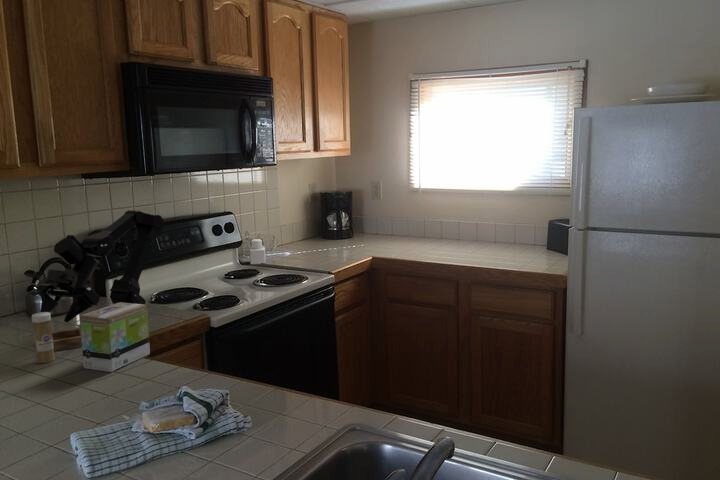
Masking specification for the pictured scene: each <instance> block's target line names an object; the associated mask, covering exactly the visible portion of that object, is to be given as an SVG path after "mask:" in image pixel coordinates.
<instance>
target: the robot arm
mask: <svg viewBox="0 0 720 480" xmlns="http://www.w3.org/2000/svg"><path fill="white" fill-rule="evenodd" d="M164 226H165V220H164V219H163V217H162V216H161V215H159V214H150V213H146V212H143V211H140V210H126V211H125V212H124V214H123V215H122V216H120V217H119V218H118V219H116V220H115V221H114V222H113V223H111V224H110V225H109V226H107V227H106V228H105V229H103V230H102V231H100V232H95V233H93V234H91V235H89V236H86V237H85V238H84V239H83V240H82V241H81V242H80V241H79V240H78V239H77V238H76V236H74V235H73V234H67V236H66V237H64V238H62V239H60V241H58V242H57V243H55V245H54V246H53V251H54V253H55V254H56V255H57V256H59V258H61V259H62V260H63V261H64V262H65V263H66V264H68V265H72V267H71V268H65V269H64V270H60V269H59V270H58V269H48V271H47V274H46V278H45V281H46V282H52V283H54V284H55V286H54V285H53V284H49V283H41V284H38V286H37V288H36V289H35V291H36V293H37V295H38V296H39V297H40V298H41V303H40V304H41V306H40V310H39V313H40V312H49V313H50V314H51V312H52V311H53V310H54V309H55V308H56V307H57V306H58V304H59V301H60V300H61V299H62V298H71V299H72V303H71V305H70V307H69V309H68V311H67V313H66V314H65V316H64V319H63V321H64V322H65V323H69V322H70V321H72V320H73V319H74V318H76V317H77V316H80V315H81V313H83V312H84V311H87V310H88V309H90V308H93V307H94V306H97V305H98V304H99V301H100V295H99V294H98V293H97V292H96V291H95V290H94V289H93V288H91V287H87V286H90V285H91V281H90V278H91V277H92V275H93V273H94V271H95V270H102V269H103V265H102V264H101V263H102V262H101V259H96V258H95V257H101V258H102V257H103V258H105V257H106V256H108V255H109V253H110V252H111V251H112V250H113V249H114V247H115V243H116V242H117V241H118V240H119V239H120V238H121V237H123V236H124V235H125V234H126V233H127V232H129V231H130V230H131V229H133V227H135V233H136V240H135V243H134V245H133V248H132V250H131V254H130V256H129V258H128V259H129V260H128V262H127V264H126V267H125V270H124V272H123V276H122V277H120V279H117V278H115V279H114V280H113V281H112V285H111V288H110V289H109V292H110V293H109V298H110V301H111V304H112V305H113V304H116V303H119V302H122V303H133V304H144V305H146V303H147V301H146V299H145V298H144V297H142V295H141V294H140V293H141V286H140V283H139V281H140V277H141V275H142V271H143V269H144V266H145V264H146V261H147V257H148V255H149V252H150V249H151V247H152V243H153V242H154V241H155V240H156V239H157V238H158V237H159V236H161V233H162V231H163V230H164V228H165V227H164ZM58 288H59V289H58Z"/></svg>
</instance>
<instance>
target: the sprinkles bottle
mask: <svg viewBox="0 0 720 480" xmlns="http://www.w3.org/2000/svg"><path fill="white" fill-rule="evenodd" d="M51 316H52V315H51V312H50V313H49V312H40V311H39V312H36V313H33V314H32V315H31V321H32V325H33V338H34V348H35V353H36V362H37V363H38V364H48V363H51V362H54V361H55V359H56V358H55V351H54V349H53V348H54V347H53V337H52V332H53V330H52V323H51V321H52V320H51V319H52V317H51Z"/></svg>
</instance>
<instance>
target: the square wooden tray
mask: <svg viewBox="0 0 720 480" xmlns="http://www.w3.org/2000/svg"><path fill="white" fill-rule="evenodd" d="M52 337H53V347H54V348H53V349H54V352H57V351H63V350H68V349H73V348H74V349H75V348H82V339H81V327H79V328H78V327H77V328H72V329H66V330H65V329H64V330H60V331H52Z"/></svg>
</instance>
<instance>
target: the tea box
mask: <svg viewBox="0 0 720 480" xmlns="http://www.w3.org/2000/svg"><path fill="white" fill-rule="evenodd" d="M148 316H149V315H148V304H145V305H144V304H133V303H122V302H119V303H116V304H113V303H112V304H111V305H108V306H105V307H101V308H98V309H95V310H93V311H90V312H86V313H84V314H79V320H80V322H79V323H80V328H81V339H82V346H81V351H82V362H83V365H82V366H83V368H84V369H87V370H93V371H101V372H109V373H113V372H115V371H116V370H117V369H120V368H122V367H125V366H126V365H129V364H131V363H133V362H135V361H137V360H140V359H142V358H144V357H147V356H149V355H150V354H151V350H150V349H151V348H150V346H151V345H150V344H151V343H150V332H149V320H148Z"/></svg>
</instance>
